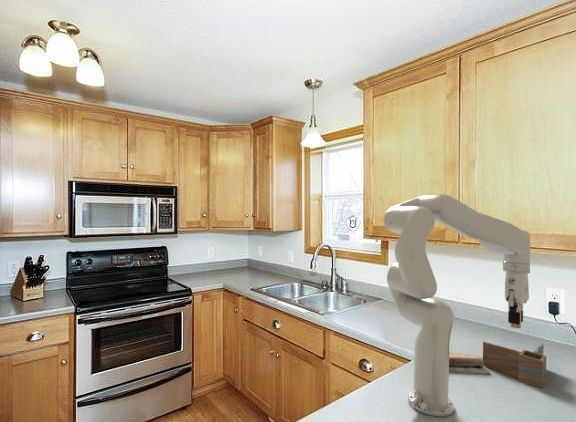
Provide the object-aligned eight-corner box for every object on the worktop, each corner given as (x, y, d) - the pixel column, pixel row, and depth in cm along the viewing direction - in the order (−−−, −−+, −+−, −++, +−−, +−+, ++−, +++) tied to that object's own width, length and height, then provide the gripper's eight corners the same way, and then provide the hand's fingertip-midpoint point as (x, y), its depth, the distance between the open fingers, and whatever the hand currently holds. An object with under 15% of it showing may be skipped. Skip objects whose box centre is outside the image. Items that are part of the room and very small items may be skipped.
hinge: (541, 388, 111) (542, 361, 111) (479, 368, 124) (480, 344, 124) (552, 371, 123) (553, 346, 123) (495, 354, 137) (496, 332, 137)
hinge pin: (523, 331, 107) (524, 300, 107) (502, 326, 112) (502, 297, 112) (528, 327, 111) (528, 297, 111) (507, 322, 116) (507, 294, 116)
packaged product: (439, 359, 121) (429, 348, 131) (439, 372, 121) (429, 360, 131) (490, 361, 120) (476, 350, 130) (490, 375, 120) (476, 362, 130)
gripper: (523, 271, 103) (522, 331, 103) (535, 266, 114) (534, 319, 114) (495, 268, 109) (495, 324, 109) (510, 263, 120) (509, 314, 120)
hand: (515, 321), depth 112 cm, fingers closed on hinge pin, 3 cm apart
